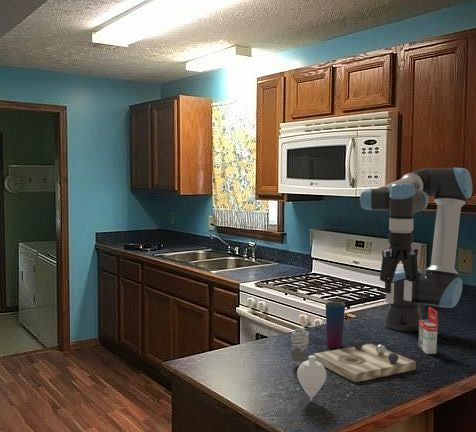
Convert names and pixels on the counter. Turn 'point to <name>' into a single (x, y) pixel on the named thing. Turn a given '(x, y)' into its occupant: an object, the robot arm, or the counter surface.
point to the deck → (363, 363)
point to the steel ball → (381, 349)
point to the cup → (334, 323)
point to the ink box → (428, 332)
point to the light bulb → (298, 352)
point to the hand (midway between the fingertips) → (398, 301)
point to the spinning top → (311, 376)
